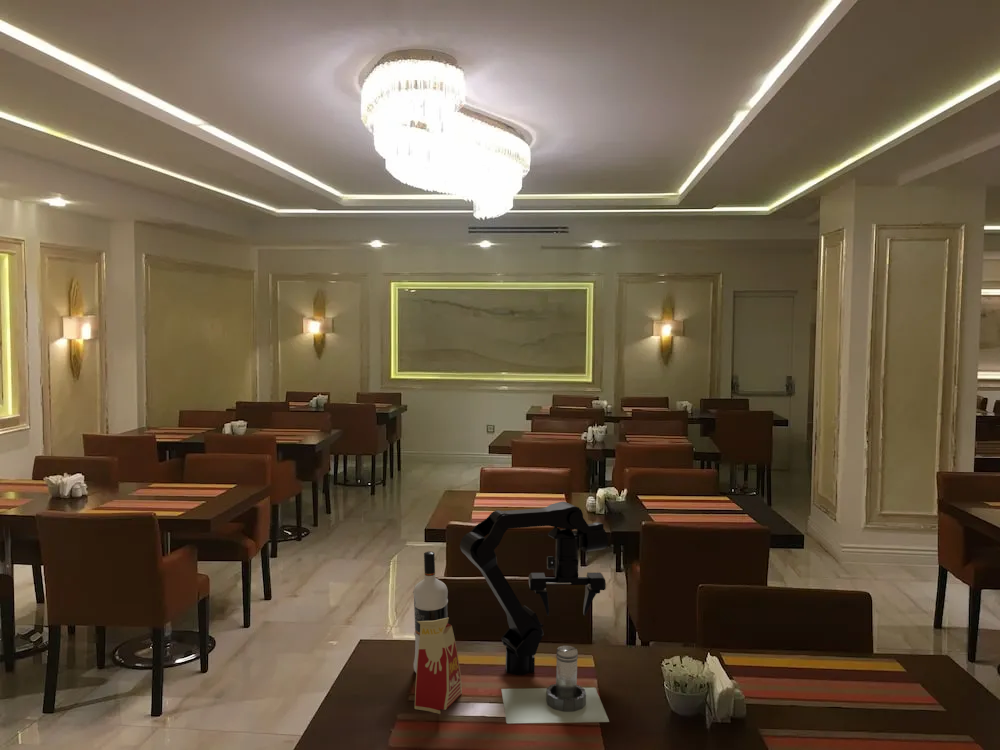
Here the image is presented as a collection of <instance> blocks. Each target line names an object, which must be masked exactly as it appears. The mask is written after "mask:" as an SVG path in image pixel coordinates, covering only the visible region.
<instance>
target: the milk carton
mask: <svg viewBox="0 0 1000 750" xmlns="http://www.w3.org/2000/svg"><path fill="white" fill-rule="evenodd" d="M449 619H450V617H448V616H447V618H444V619H439V620H434V621H417V622H418V623H419V624H420V640H419V650H418V659H417V672H416V673H415V674H416V675H415V685H414V686H415V687H414V688H415V689H414V710H417V711H418V710H420V711H426V712H430V713H434V714H439V715H441V710H442V711H443V710H447V709H448V708H449V707H451V705H452V704H453V703H454V702H455V701H456V700H457V699H458V698H459V697H460V696H461V695H462V694H463V689H462V688H463V687H462V685H463V684H462V674H461V668H460V661H459V655H458V648H457V643H456V639H455V638H456V637H455V635H454V630H453V625H451V624H450V623H449Z"/></svg>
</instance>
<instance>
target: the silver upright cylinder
mask: <svg viewBox="0 0 1000 750" xmlns="http://www.w3.org/2000/svg"><path fill="white" fill-rule="evenodd" d="M578 650H579V649H577V647H575V646H571V645H561V646H558V647H557V648H556V665H555V666H556V671H555V672H556V675H555V684H556V697H559V698H563V699H574V698H576V689H577V685H578V683H577V680H578V678H577V677H578V660H579V658H578V657H579V655H578V653H579V652H578Z"/></svg>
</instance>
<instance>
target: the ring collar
mask: <svg viewBox="0 0 1000 750" xmlns="http://www.w3.org/2000/svg"><path fill="white" fill-rule="evenodd" d="M546 688H547V689H546V702H547V705H548V706H550V707H551V708H553V709H555V710H559V711H563V712H574V711H577V710H580V709H583V707H584V706H585V705H586V692H585V689H584V688H585V687H583V686H581V685H579V684H577V689H576V698H574V699H563V698H559V697H556V683H554V684H550V685H548V687H546Z"/></svg>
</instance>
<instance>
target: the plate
mask: <svg viewBox="0 0 1000 750" xmlns="http://www.w3.org/2000/svg"><path fill="white" fill-rule="evenodd" d="M547 688H548V687H545V688H543V687H542V688H541V687H538V688H534V687H533V688H532V687H531V688H501V689H500V690H501V695H502V696H501V697H502V702H503V703H502V704H503V709H504V716H505V722H506V724H509V725H511V724H555V723H557V724H559V723H560V724H561V723H562V724H563V723H564V724H565V723H567V724H569V723H571V724H572V723H610V720H609V717H608V715H607V712H606V710H605V708H604V705H603V703H602V700H601V698H600V696H599V694H598V691H597V688H596V687H583V688H584V689H585V692H586V705H585V706H584V707H583V709H580V710H577V711H574V712H563V711H559V710H555V709H553V708H551V707H550V706H548V705H547V702H546V689H547Z"/></svg>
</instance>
